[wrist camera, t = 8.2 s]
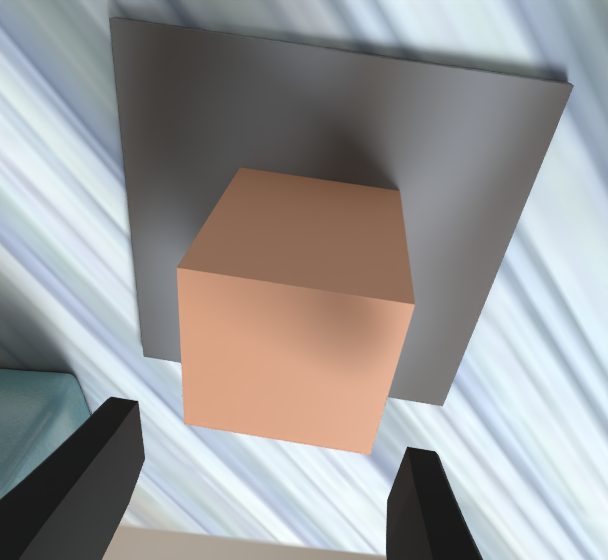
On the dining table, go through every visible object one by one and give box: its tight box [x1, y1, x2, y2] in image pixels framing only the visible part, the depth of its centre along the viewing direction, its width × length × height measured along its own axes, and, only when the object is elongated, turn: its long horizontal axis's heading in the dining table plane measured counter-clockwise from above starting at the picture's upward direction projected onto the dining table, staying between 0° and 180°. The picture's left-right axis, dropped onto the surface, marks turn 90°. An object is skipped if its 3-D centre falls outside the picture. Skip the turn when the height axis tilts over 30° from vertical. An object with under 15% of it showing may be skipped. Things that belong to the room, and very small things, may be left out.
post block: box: [109, 17, 574, 406], centre depth 16 cm, size 14×14×5 cm
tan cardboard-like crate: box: [177, 168, 415, 455], centre depth 15 cm, size 6×6×7 cm
